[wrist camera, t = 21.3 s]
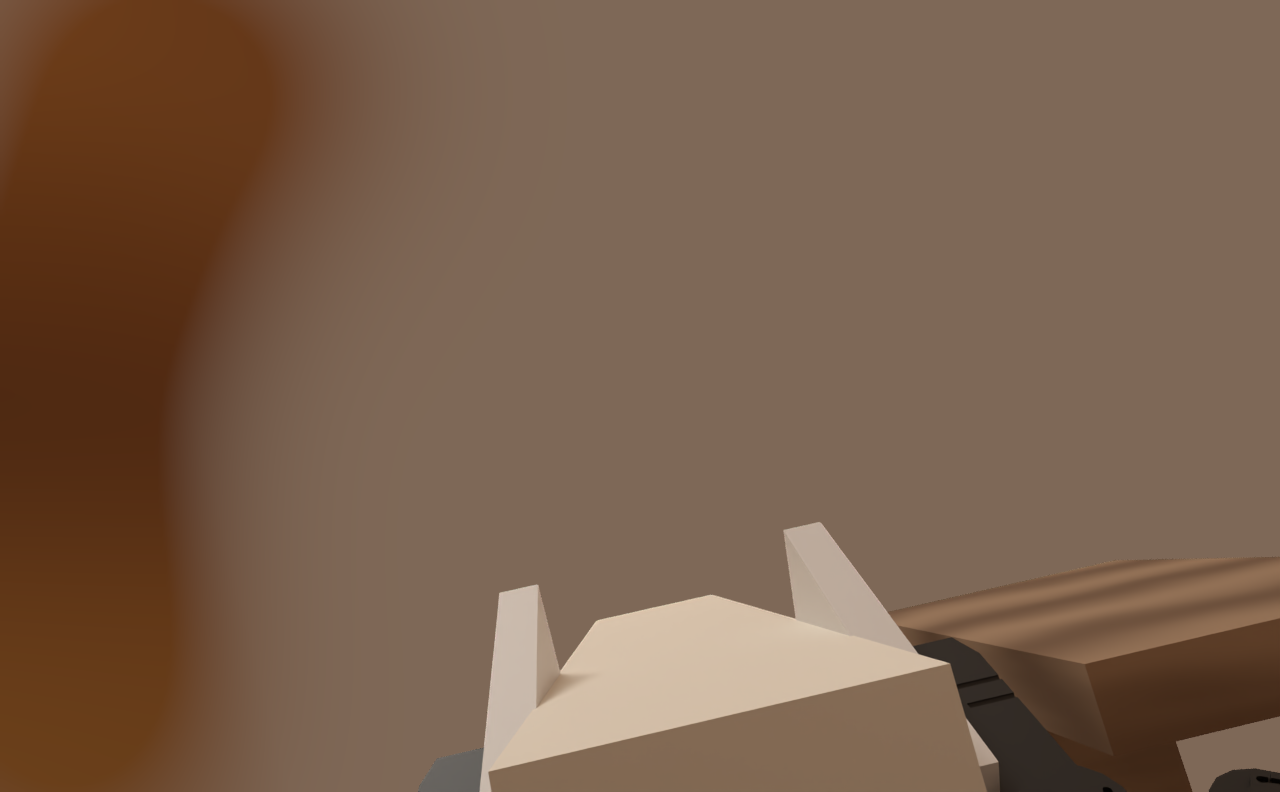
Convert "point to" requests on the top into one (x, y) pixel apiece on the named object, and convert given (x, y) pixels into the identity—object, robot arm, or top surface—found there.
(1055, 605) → the walnut stand
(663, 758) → the pale wooden bar
